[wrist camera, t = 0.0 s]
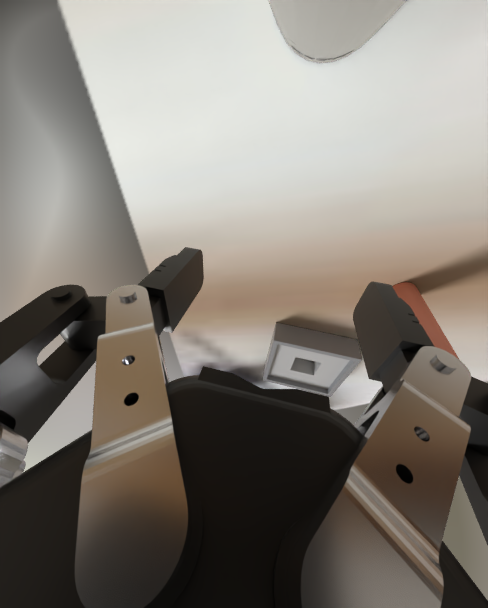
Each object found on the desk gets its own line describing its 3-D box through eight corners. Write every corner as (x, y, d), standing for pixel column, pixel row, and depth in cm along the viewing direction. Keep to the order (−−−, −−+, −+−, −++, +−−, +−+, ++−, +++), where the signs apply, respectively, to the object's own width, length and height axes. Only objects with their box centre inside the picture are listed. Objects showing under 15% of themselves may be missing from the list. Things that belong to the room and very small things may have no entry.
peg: (396, 280, 27) (458, 405, 16) (422, 284, 27) (506, 416, 16) (382, 298, 30) (429, 419, 18) (407, 302, 29) (470, 429, 18)
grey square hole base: (276, 322, 37) (273, 340, 35) (357, 339, 36) (361, 359, 33) (265, 363, 47) (262, 380, 44) (328, 378, 46) (330, 396, 43)
